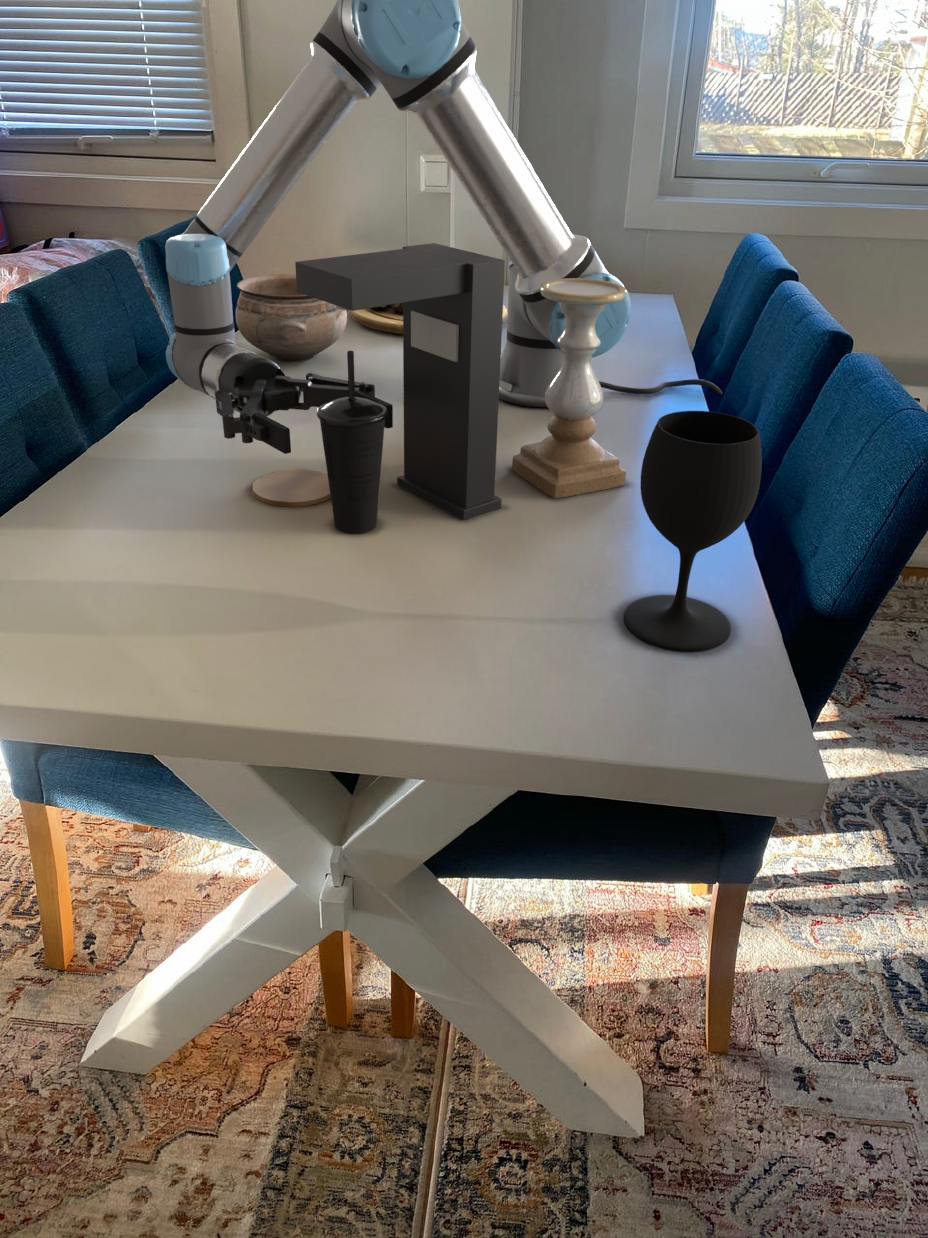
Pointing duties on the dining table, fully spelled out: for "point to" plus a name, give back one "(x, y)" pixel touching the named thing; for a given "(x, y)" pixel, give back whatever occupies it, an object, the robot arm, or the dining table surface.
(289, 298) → the cooking pot
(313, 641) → the dining table surface
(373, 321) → the wooden plate
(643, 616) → the wine glass
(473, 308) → the coffee maker
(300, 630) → the dining table surface
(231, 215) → the robot arm
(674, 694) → the dining table surface
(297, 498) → the coaster
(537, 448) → the candle holder
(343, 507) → the drinking cup
